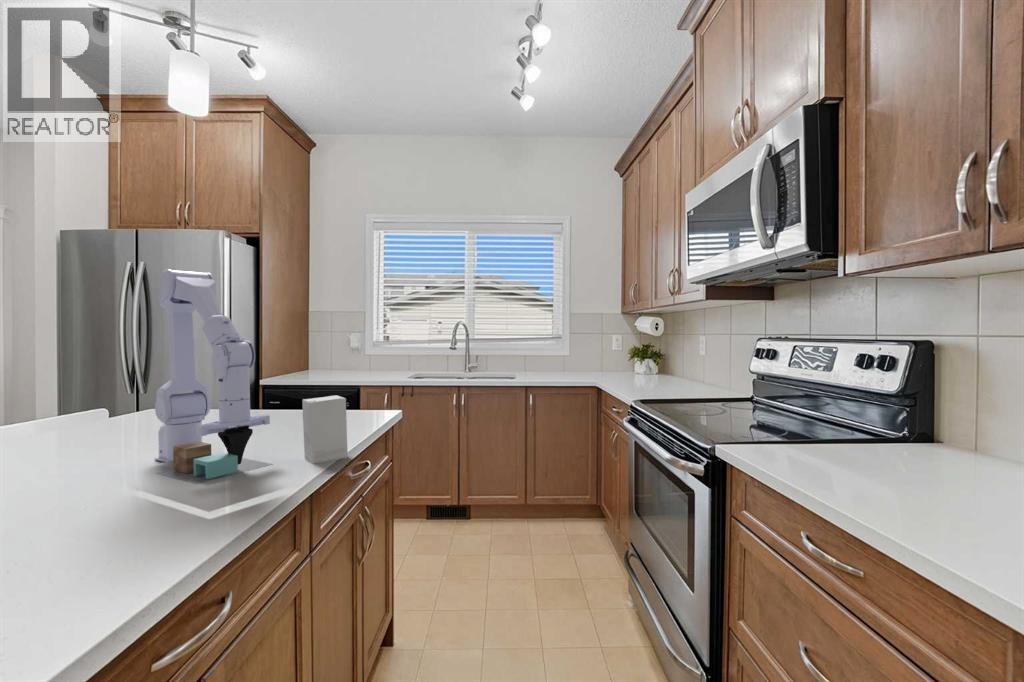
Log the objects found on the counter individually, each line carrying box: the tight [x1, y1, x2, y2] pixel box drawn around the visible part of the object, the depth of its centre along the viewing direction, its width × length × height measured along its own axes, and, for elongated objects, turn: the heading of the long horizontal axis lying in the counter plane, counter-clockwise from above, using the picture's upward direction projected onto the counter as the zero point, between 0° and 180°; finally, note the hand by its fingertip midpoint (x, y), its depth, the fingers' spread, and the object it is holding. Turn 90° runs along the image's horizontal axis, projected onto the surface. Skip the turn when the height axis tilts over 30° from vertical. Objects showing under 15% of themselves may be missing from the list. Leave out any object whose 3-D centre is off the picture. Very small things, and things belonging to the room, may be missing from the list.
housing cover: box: [194, 452, 238, 479], centre depth 102 cm, size 5×6×3 cm
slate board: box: [156, 457, 274, 485], centre depth 106 cm, size 15×16×4 cm
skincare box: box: [302, 395, 349, 465], centre depth 114 cm, size 8×6×15 cm
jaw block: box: [172, 441, 212, 473], centre depth 105 cm, size 5×5×5 cm
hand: (235, 463), depth 105 cm, fingers closed
